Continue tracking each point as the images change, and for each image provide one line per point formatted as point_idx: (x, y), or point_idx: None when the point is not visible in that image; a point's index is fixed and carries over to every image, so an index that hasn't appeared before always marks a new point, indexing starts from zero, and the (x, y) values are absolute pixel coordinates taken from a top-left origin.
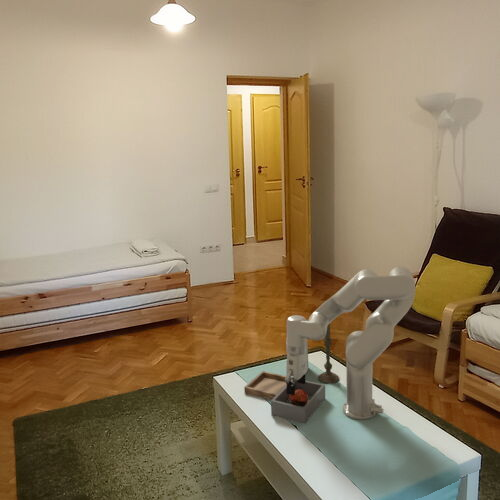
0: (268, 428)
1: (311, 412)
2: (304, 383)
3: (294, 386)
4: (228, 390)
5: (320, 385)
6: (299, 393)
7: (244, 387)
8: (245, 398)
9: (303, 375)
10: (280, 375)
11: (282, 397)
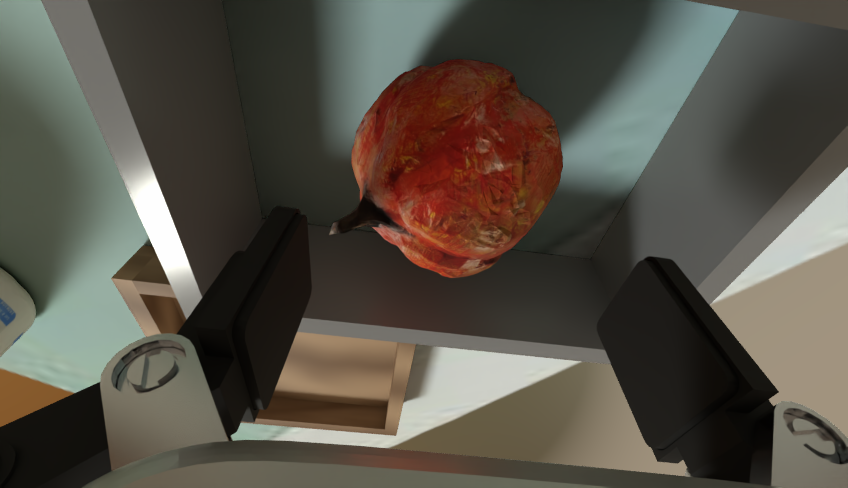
0: (770, 250)
1: None
2: (299, 217)
3: (761, 380)
4: (402, 439)
5: None
6: (521, 203)
7: (396, 433)
8: (444, 393)
9: (247, 343)
10: None
11: (479, 295)
